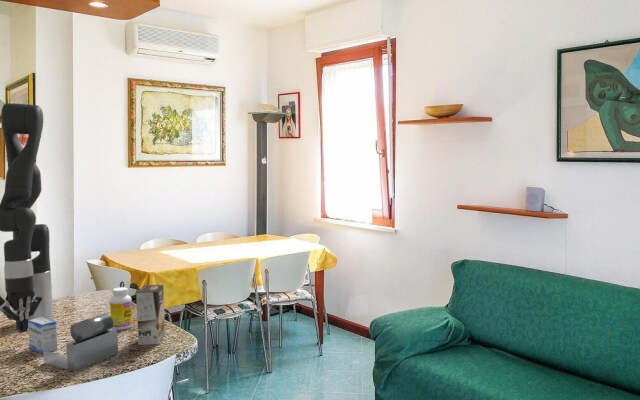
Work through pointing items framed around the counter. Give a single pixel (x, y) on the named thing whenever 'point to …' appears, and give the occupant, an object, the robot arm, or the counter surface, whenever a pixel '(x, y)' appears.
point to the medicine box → (42, 335)
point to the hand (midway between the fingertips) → (22, 331)
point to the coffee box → (150, 314)
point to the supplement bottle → (121, 309)
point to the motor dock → (87, 344)
